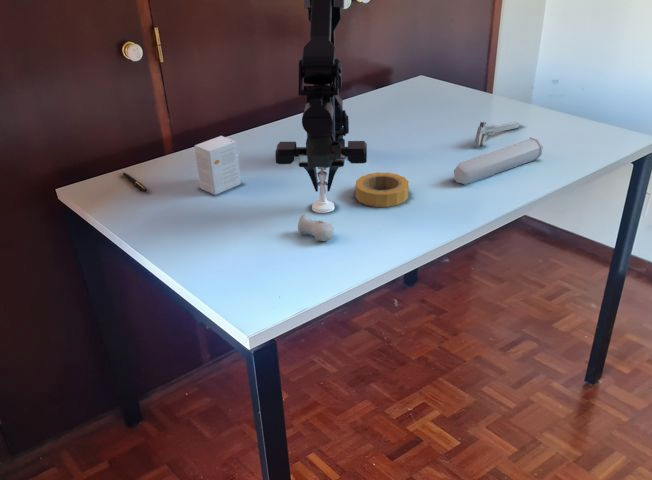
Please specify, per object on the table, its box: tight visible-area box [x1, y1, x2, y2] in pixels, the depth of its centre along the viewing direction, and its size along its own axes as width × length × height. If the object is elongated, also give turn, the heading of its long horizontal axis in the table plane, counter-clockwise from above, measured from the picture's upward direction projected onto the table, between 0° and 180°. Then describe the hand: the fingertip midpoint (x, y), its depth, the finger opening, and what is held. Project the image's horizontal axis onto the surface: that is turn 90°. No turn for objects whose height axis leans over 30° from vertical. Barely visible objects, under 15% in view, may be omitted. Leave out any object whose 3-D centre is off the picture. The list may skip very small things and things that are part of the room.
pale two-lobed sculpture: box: [297, 213, 335, 242], centre depth 143 cm, size 4×8×5 cm
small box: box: [194, 135, 242, 196], centre depth 162 cm, size 8×6×10 cm
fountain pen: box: [121, 171, 148, 193], centre depth 167 cm, size 14×1×2 cm, turn 36°
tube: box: [453, 136, 543, 186], centre depth 165 cm, size 5×5×25 cm
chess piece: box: [311, 167, 335, 214], centre depth 151 cm, size 5×5×10 cm
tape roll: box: [355, 172, 410, 208], centre depth 157 cm, size 12×12×3 cm
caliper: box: [474, 121, 522, 148], centre depth 182 cm, size 20×1×6 cm, turn 137°
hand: (322, 190), depth 152 cm, fingers closed on chess piece, 2 cm apart
